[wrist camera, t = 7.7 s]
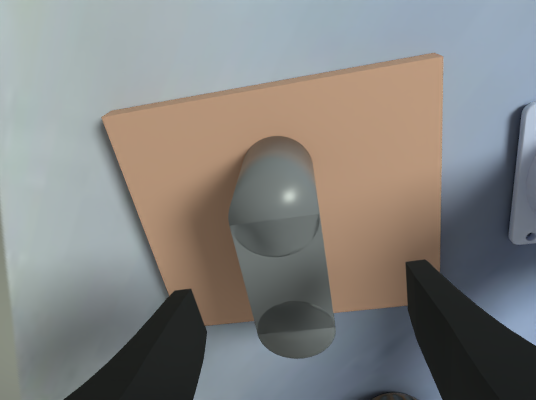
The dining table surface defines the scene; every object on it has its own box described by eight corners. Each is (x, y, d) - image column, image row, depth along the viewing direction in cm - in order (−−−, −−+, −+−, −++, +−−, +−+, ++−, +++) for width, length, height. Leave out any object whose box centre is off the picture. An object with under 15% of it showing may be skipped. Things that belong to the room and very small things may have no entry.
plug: (308, 130, 19) (313, 171, 14) (332, 303, 24) (341, 373, 19) (235, 142, 19) (218, 185, 15) (273, 309, 24) (269, 379, 20)
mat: (434, 52, 18) (443, 56, 17) (432, 289, 24) (439, 302, 23) (111, 110, 20) (101, 117, 19) (186, 314, 26) (181, 328, 25)
